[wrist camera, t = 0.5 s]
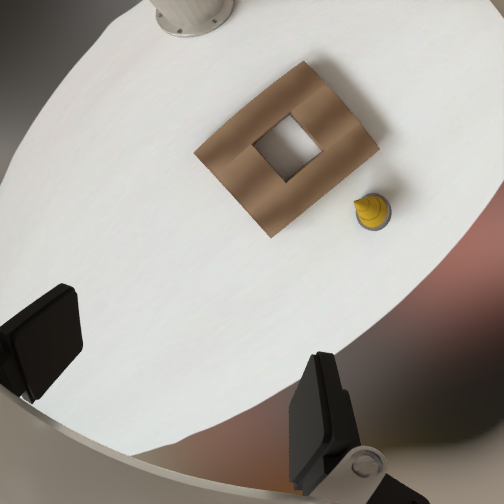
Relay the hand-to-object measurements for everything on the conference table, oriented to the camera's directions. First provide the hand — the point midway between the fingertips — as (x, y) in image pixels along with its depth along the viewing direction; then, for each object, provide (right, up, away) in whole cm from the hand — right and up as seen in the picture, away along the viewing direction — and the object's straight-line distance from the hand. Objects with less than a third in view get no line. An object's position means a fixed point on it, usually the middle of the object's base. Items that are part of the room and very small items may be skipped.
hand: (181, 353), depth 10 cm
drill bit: (+19, +10, +31) cm, 38 cm away
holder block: (+8, +18, +29) cm, 35 cm away
